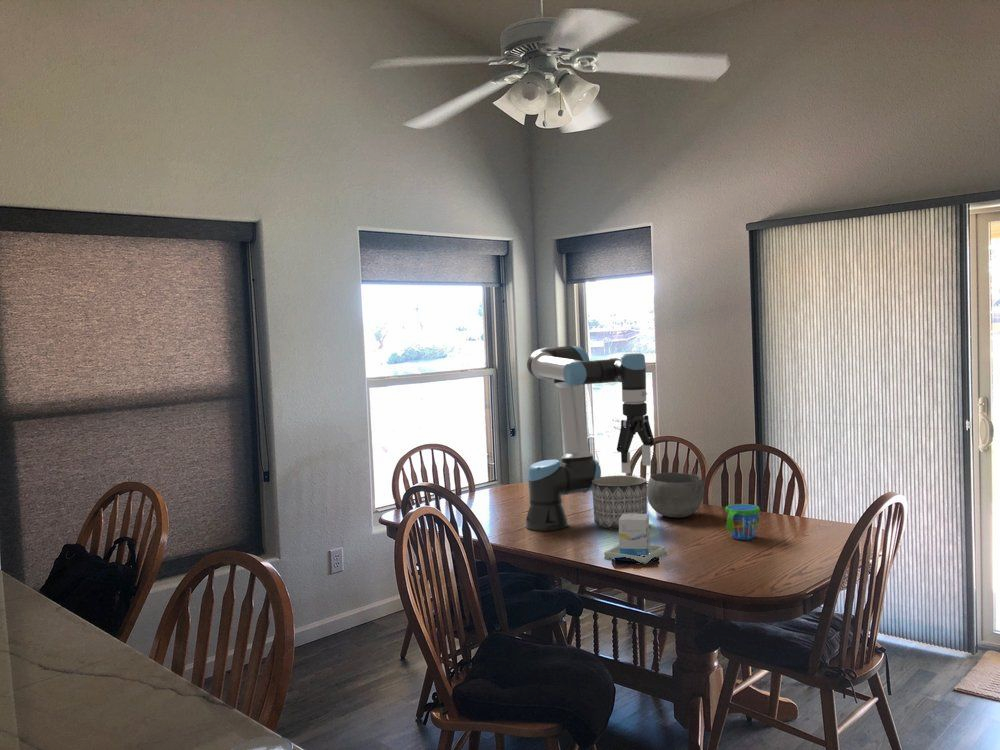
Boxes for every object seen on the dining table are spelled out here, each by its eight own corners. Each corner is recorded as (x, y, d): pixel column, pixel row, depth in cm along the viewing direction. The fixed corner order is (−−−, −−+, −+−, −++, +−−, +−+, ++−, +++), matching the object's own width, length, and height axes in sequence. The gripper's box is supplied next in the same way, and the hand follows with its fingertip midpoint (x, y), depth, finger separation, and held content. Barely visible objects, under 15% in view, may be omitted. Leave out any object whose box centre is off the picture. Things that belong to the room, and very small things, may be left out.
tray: (604, 558, 253) (604, 552, 253) (625, 547, 265) (625, 541, 265) (646, 564, 245) (645, 557, 245) (665, 552, 256) (665, 546, 256)
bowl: (642, 521, 298) (640, 480, 297) (654, 509, 317) (652, 470, 316) (700, 524, 290) (698, 481, 289) (708, 511, 309) (707, 471, 308)
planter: (633, 535, 279) (631, 487, 279) (583, 529, 291) (581, 483, 290) (657, 523, 295) (655, 477, 294) (609, 517, 306) (607, 474, 305)
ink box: (647, 557, 250) (645, 519, 249) (619, 556, 252) (617, 519, 252) (650, 550, 258) (649, 513, 257) (623, 549, 261) (621, 512, 260)
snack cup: (746, 530, 278) (745, 500, 278) (772, 536, 269) (771, 505, 269) (714, 539, 269) (713, 508, 269) (740, 545, 261) (739, 513, 260)
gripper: (625, 407, 248) (628, 477, 249) (663, 398, 268) (665, 463, 269) (604, 406, 253) (606, 475, 254) (642, 397, 272) (644, 461, 274)
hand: (636, 469), depth 262 cm, fingers open, 13 cm apart
